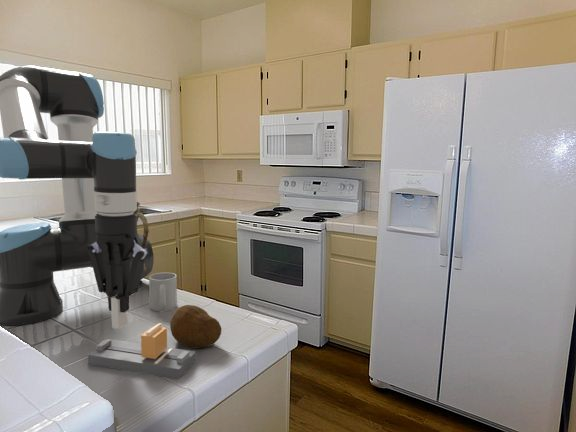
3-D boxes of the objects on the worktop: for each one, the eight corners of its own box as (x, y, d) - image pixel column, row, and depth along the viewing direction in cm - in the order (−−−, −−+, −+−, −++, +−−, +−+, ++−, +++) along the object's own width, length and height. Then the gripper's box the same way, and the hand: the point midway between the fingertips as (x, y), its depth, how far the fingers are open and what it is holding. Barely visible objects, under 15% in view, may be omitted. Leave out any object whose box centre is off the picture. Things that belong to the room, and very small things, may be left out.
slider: (141, 356, 76) (140, 331, 75) (153, 346, 80) (153, 322, 79) (155, 359, 75) (154, 333, 74) (167, 348, 79) (166, 324, 78)
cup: (177, 301, 112) (176, 271, 111) (176, 314, 103) (176, 282, 101) (150, 303, 110) (150, 273, 109) (148, 317, 101) (147, 284, 99)
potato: (192, 360, 80) (191, 320, 78) (161, 341, 87) (160, 305, 86) (224, 346, 86) (224, 309, 85) (192, 330, 94) (192, 295, 93)
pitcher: (134, 276, 134) (132, 190, 130) (164, 289, 122) (162, 195, 117) (103, 283, 126) (99, 192, 122) (131, 297, 114) (128, 197, 109)
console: (88, 364, 77) (87, 350, 77) (111, 347, 84) (110, 334, 83) (179, 378, 73) (179, 364, 72) (195, 360, 80) (195, 347, 79)
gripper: (73, 212, 73) (78, 329, 77) (134, 218, 70) (136, 338, 74) (100, 207, 80) (104, 314, 84) (156, 212, 77) (158, 322, 81)
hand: (119, 325), depth 79 cm, fingers closed
